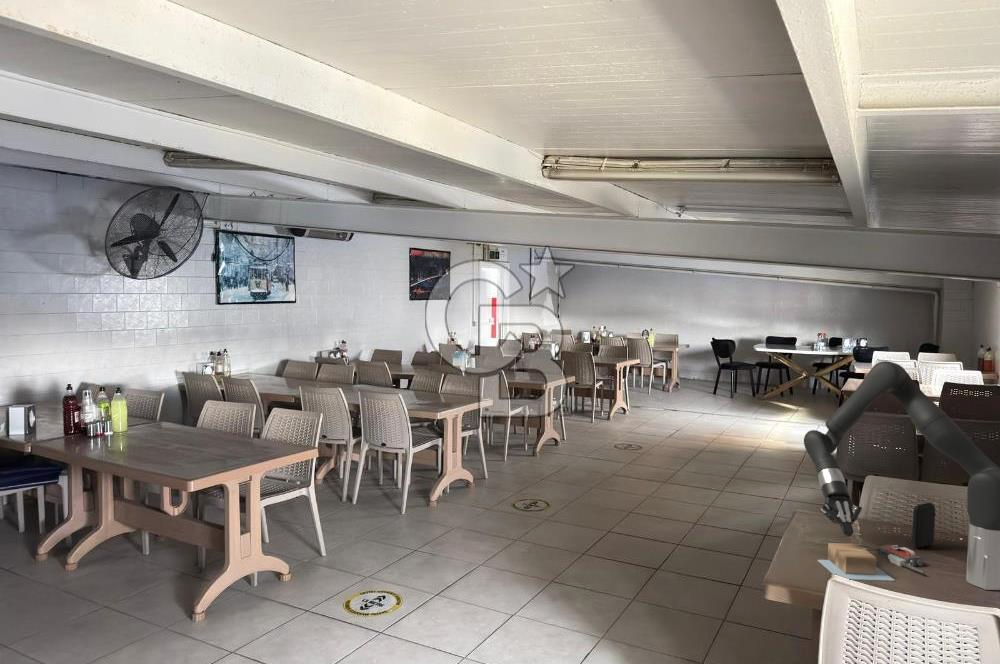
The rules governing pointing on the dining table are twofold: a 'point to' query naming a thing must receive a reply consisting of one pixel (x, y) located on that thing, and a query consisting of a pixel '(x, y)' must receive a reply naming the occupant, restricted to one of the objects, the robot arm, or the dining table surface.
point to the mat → (872, 577)
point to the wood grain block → (852, 558)
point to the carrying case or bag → (923, 525)
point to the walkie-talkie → (901, 556)
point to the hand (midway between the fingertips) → (849, 535)
